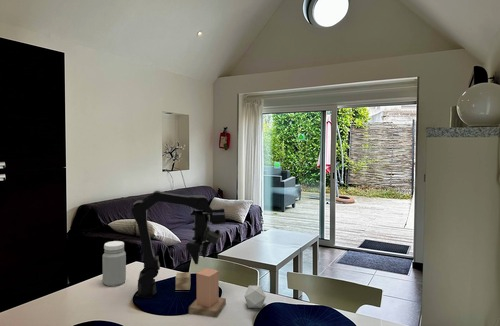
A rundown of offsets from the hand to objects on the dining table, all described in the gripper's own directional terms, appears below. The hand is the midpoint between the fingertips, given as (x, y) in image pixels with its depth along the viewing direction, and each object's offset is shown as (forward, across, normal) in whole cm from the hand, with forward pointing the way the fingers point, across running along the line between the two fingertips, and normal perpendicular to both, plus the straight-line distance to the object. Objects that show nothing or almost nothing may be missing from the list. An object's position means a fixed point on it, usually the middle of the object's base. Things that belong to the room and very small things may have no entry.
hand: (200, 260), depth 151 cm
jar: (+13, -3, +40) cm, 42 cm away
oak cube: (+13, 0, +8) cm, 15 cm away
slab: (+14, -15, -9) cm, 22 cm away
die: (+13, -8, -26) cm, 30 cm away
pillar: (+10, -15, -9) cm, 20 cm away
